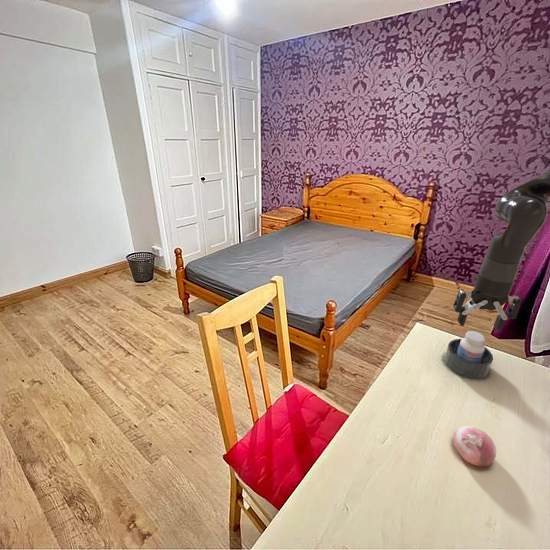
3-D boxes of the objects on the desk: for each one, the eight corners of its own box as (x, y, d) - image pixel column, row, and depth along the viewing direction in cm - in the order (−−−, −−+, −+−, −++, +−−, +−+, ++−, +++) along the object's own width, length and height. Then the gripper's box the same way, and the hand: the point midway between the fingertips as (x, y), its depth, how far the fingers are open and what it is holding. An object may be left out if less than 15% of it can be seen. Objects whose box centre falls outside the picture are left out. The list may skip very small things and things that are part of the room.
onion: (442, 449, 69) (450, 428, 66) (461, 431, 73) (469, 410, 69) (480, 480, 63) (490, 458, 60) (498, 459, 67) (509, 437, 63)
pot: (450, 349, 98) (455, 334, 95) (491, 366, 91) (497, 350, 88) (438, 367, 91) (442, 352, 88) (480, 387, 84) (487, 371, 81)
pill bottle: (456, 371, 89) (466, 341, 84) (451, 357, 94) (460, 328, 89) (479, 375, 88) (491, 344, 82) (473, 360, 93) (483, 330, 88)
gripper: (523, 270, 78) (502, 322, 86) (461, 265, 82) (446, 315, 89) (537, 284, 72) (513, 339, 79) (469, 278, 75) (452, 330, 83)
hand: (478, 326), depth 84 cm, fingers open, 8 cm apart
